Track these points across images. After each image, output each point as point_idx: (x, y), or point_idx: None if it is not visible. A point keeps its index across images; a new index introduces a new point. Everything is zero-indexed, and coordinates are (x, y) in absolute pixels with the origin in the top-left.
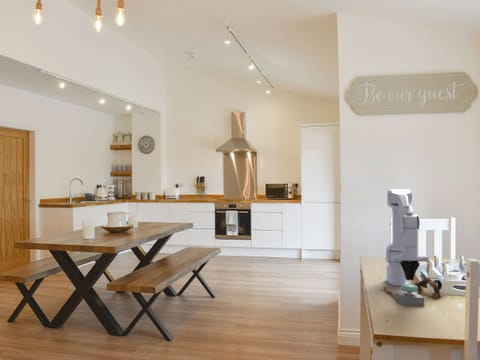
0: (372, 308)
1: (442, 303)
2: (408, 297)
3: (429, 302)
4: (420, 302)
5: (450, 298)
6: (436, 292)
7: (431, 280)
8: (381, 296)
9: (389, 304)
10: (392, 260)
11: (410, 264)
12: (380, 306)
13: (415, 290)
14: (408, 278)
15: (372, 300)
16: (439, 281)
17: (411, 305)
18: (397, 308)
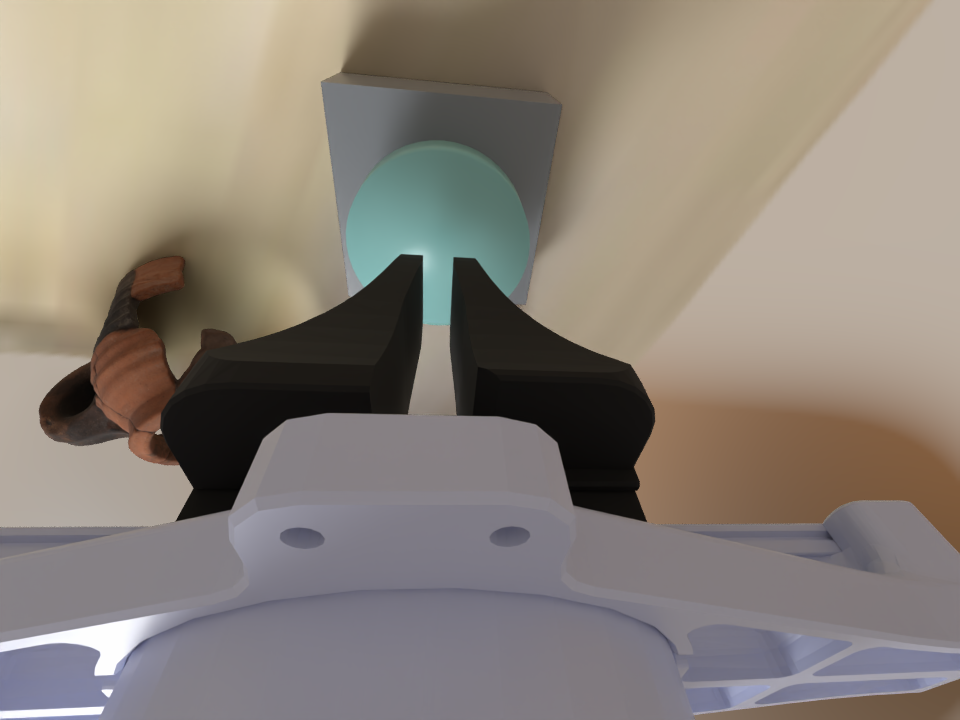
0: (889, 50)
1: (128, 112)
2: (502, 116)
3: (257, 161)
4: (376, 79)
5: (33, 247)
6: (135, 290)
7: (123, 414)
8: (574, 340)
9: (648, 152)
10: (951, 546)
11: (507, 370)
12: (768, 104)
13: (405, 149)
14: (476, 265)
15: (700, 268)
16: (50, 419)
17: (472, 86)
18: (665, 7)
